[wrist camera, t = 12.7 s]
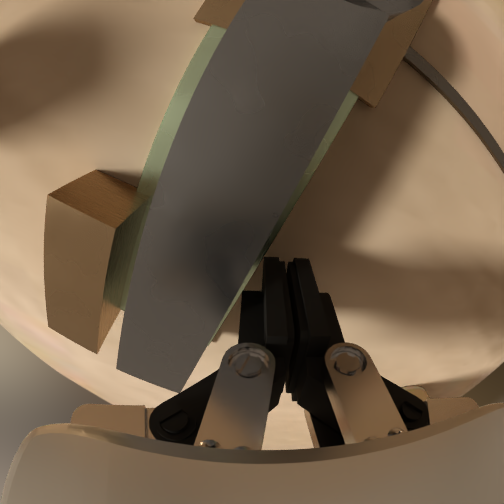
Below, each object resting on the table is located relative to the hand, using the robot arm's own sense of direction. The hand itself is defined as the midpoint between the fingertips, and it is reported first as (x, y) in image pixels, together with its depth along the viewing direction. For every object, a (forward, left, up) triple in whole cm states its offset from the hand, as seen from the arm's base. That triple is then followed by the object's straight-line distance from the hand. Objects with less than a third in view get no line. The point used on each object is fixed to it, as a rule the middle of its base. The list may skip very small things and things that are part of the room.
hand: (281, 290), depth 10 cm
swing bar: (+4, -4, 0) cm, 5 cm away
